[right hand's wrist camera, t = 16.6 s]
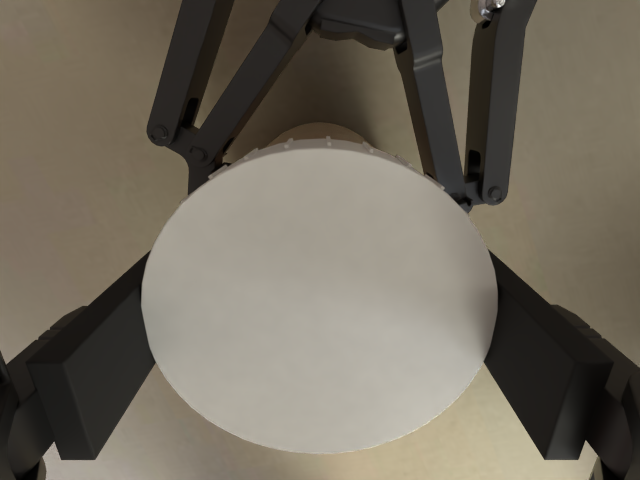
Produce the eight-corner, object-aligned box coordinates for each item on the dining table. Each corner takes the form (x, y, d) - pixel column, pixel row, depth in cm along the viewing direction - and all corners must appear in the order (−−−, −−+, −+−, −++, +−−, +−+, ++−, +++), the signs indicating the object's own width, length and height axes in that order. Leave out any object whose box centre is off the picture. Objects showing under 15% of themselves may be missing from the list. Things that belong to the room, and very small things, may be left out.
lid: (426, 418, 14) (444, 471, 12) (168, 387, 14) (141, 437, 12) (514, 165, 11) (560, 180, 9) (168, 110, 10) (130, 112, 8)
